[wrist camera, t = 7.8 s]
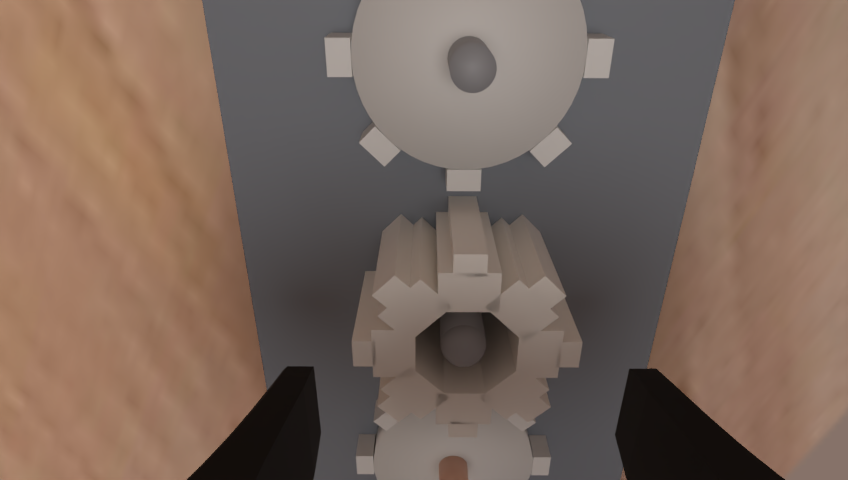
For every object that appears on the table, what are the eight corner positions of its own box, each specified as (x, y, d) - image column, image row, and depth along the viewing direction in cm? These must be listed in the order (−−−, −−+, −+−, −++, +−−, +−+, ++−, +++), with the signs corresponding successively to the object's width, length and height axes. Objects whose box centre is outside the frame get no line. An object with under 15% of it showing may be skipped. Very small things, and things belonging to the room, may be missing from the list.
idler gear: (543, 357, 18) (566, 438, 15) (370, 355, 18) (358, 436, 15) (563, 196, 16) (597, 255, 13) (361, 195, 16) (345, 253, 13)
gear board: (598, 508, 24) (636, 629, 19) (296, 506, 24) (268, 626, 19) (752, -187, 13) (917, -260, 8) (190, -188, 13) (70, -261, 8)
